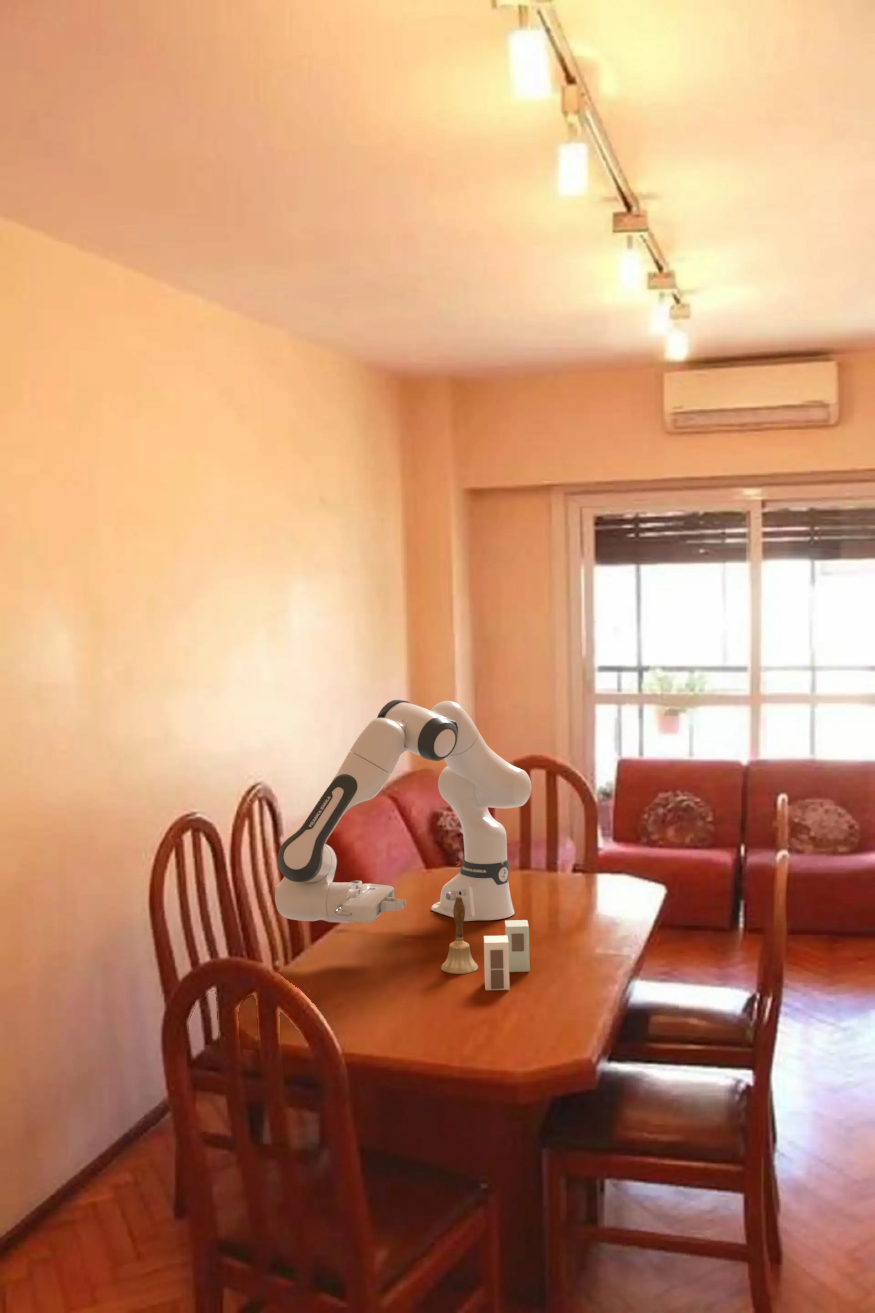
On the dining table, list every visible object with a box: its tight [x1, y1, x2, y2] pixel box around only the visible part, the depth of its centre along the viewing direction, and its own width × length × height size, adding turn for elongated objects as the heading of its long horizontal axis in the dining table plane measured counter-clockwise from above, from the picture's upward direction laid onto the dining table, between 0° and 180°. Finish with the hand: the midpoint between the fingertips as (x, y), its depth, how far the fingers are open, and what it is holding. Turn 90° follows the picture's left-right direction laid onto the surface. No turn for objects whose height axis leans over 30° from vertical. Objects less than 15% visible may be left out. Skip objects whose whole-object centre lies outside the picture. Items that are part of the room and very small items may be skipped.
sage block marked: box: [504, 919, 531, 973], centre depth 251 cm, size 5×5×10 cm
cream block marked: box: [483, 934, 511, 991], centre depth 240 cm, size 5×5×10 cm
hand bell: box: [440, 897, 479, 975], centre depth 252 cm, size 8×8×16 cm
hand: (404, 905), depth 254 cm, fingers closed
